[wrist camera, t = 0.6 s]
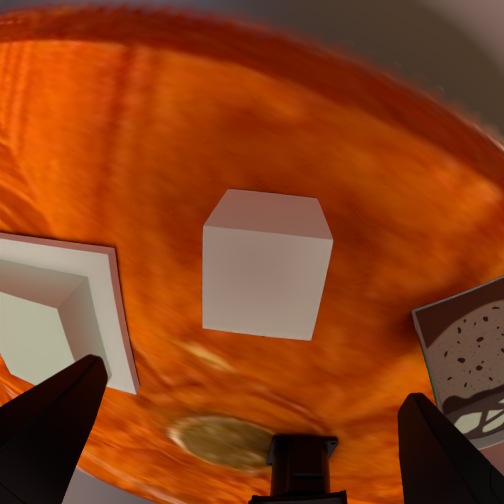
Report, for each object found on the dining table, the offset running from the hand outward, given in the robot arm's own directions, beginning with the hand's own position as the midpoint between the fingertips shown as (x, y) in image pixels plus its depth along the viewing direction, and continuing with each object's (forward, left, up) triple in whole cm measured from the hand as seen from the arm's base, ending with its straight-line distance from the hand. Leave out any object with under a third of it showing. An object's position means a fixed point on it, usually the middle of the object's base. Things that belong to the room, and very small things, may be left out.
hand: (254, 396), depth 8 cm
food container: (-5, -16, -12) cm, 20 cm away
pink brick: (0, 0, -12) cm, 12 cm away
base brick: (-9, +17, -11) cm, 22 cm away
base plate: (-9, +17, -12) cm, 22 cm away
